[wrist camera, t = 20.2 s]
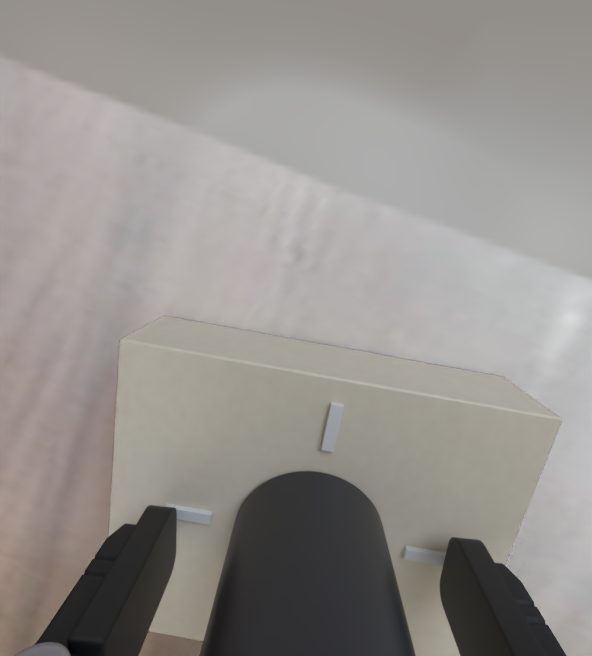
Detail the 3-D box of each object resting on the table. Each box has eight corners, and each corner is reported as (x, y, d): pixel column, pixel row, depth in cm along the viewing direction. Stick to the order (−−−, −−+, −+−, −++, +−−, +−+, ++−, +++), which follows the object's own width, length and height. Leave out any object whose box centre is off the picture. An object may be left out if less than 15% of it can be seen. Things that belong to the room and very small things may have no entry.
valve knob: (237, 590, 11) (176, 882, 6) (231, 467, 10) (153, 696, 5) (378, 595, 11) (436, 899, 6) (387, 471, 10) (468, 712, 5)
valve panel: (162, 314, 12) (114, 340, 9) (505, 376, 13) (568, 421, 9) (142, 549, 15) (99, 630, 12) (429, 599, 15) (459, 692, 12)
